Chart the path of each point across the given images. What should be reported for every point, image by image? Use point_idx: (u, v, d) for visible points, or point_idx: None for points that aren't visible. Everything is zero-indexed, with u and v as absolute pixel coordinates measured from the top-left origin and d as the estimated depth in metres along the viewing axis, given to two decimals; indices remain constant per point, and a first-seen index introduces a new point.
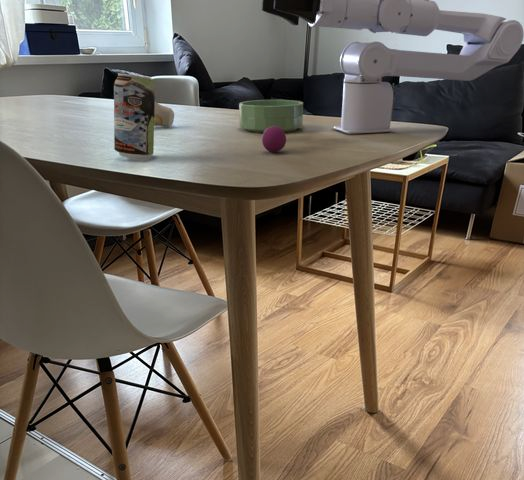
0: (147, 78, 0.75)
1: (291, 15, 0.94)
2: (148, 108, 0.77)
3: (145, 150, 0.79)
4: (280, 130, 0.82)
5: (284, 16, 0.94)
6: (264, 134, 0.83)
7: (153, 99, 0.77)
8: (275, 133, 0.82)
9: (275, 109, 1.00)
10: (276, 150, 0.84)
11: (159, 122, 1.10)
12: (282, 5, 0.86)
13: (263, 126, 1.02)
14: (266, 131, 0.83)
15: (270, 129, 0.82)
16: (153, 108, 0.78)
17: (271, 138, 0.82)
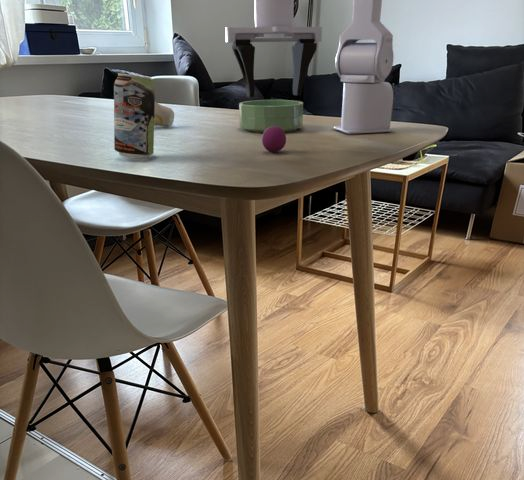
0: (147, 78, 0.75)
1: None
2: (148, 108, 0.77)
3: (145, 150, 0.79)
4: (280, 130, 0.82)
5: None
6: (264, 134, 0.83)
7: (153, 99, 0.77)
8: (275, 133, 0.82)
9: (275, 109, 1.00)
10: (276, 150, 0.84)
11: (159, 122, 1.10)
12: None
13: (263, 126, 1.02)
14: (266, 131, 0.83)
15: (270, 129, 0.82)
16: (153, 108, 0.78)
17: (271, 138, 0.82)
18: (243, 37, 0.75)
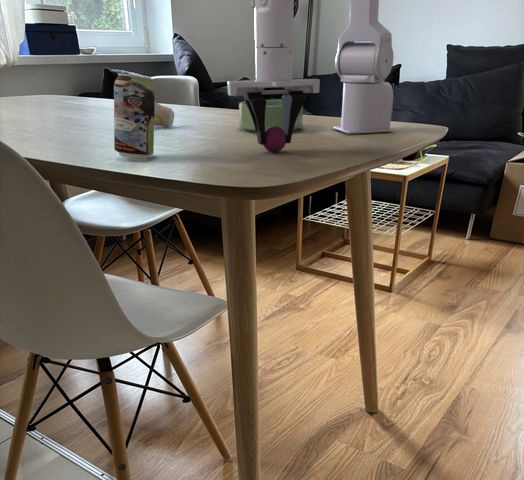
0: (147, 78, 0.75)
1: None
2: (148, 108, 0.77)
3: (145, 150, 0.79)
4: (280, 130, 0.82)
5: None
6: None
7: (153, 99, 0.77)
8: (275, 133, 0.82)
9: (275, 109, 1.00)
10: (276, 150, 0.84)
11: (159, 122, 1.10)
12: None
13: None
14: (266, 131, 0.83)
15: (270, 129, 0.82)
16: (153, 108, 0.78)
17: (272, 138, 0.82)
18: (244, 90, 0.79)
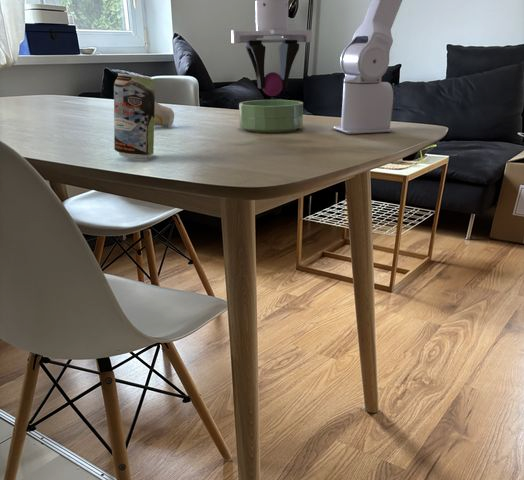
0: (147, 78, 0.75)
1: None
2: (148, 108, 0.77)
3: (145, 150, 0.79)
4: (278, 75, 0.94)
5: None
6: None
7: (153, 99, 0.77)
8: (273, 77, 0.94)
9: (275, 109, 1.00)
10: (274, 93, 0.96)
11: (159, 122, 1.10)
12: None
13: (263, 126, 1.02)
14: (265, 76, 0.94)
15: (268, 74, 0.94)
16: (153, 108, 0.78)
17: (270, 82, 0.94)
18: (246, 38, 0.91)
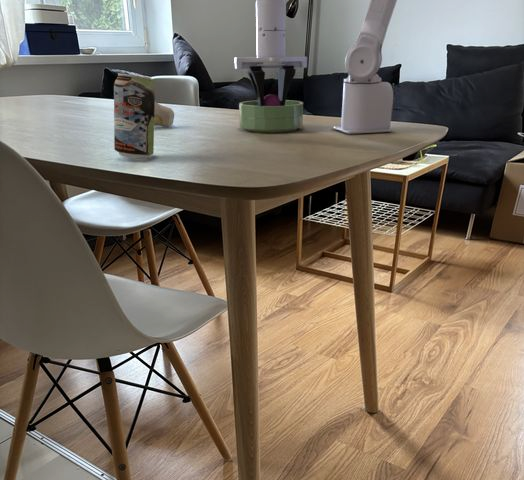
0: (147, 78, 0.75)
1: None
2: (148, 108, 0.77)
3: (145, 150, 0.79)
4: (276, 97, 1.04)
5: None
6: None
7: (153, 99, 0.77)
8: (272, 99, 1.04)
9: (275, 109, 1.00)
10: None
11: (159, 122, 1.10)
12: None
13: (263, 126, 1.02)
14: (265, 98, 1.04)
15: (268, 96, 1.04)
16: (153, 108, 0.78)
17: (269, 103, 1.04)
18: (248, 64, 1.01)
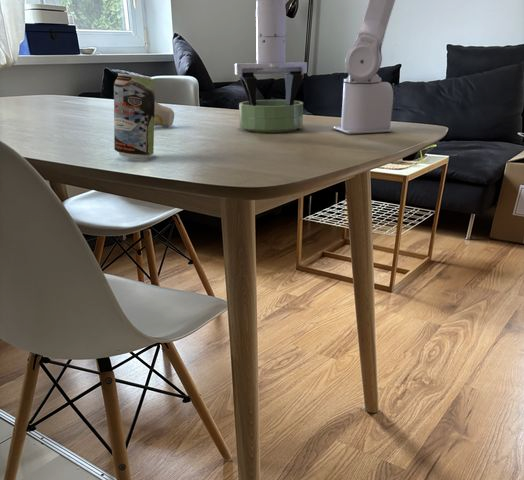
0: (147, 78, 0.75)
1: None
2: (148, 108, 0.77)
3: (145, 150, 0.79)
4: None
5: None
6: None
7: (153, 99, 0.77)
8: None
9: (275, 109, 1.00)
10: None
11: (159, 122, 1.10)
12: None
13: (263, 126, 1.02)
14: None
15: None
16: (153, 108, 0.78)
17: None
18: (248, 70, 1.01)
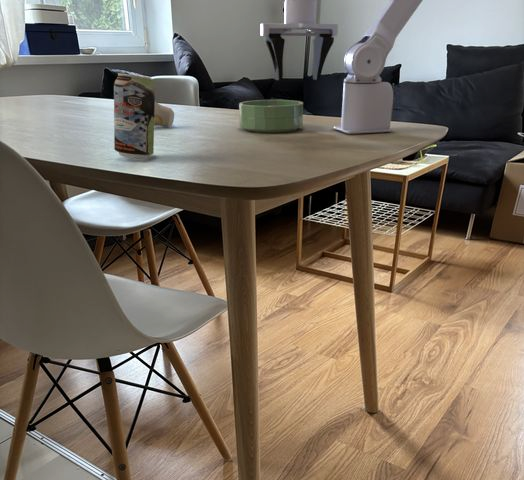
0: (147, 78, 0.75)
1: None
2: (148, 108, 0.77)
3: (145, 150, 0.79)
4: None
5: None
6: None
7: (153, 99, 0.77)
8: None
9: (275, 109, 1.00)
10: None
11: (159, 122, 1.10)
12: None
13: (263, 126, 1.02)
14: None
15: None
16: (153, 108, 0.78)
17: None
18: (275, 31, 0.94)
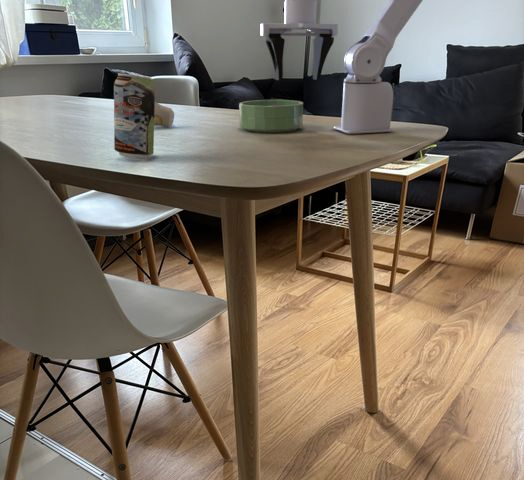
0: (147, 78, 0.75)
1: None
2: (148, 108, 0.77)
3: (145, 150, 0.79)
4: None
5: None
6: None
7: (153, 99, 0.77)
8: None
9: (275, 109, 1.00)
10: None
11: (159, 122, 1.10)
12: None
13: (263, 126, 1.02)
14: None
15: None
16: (153, 108, 0.78)
17: None
18: (275, 31, 0.94)
